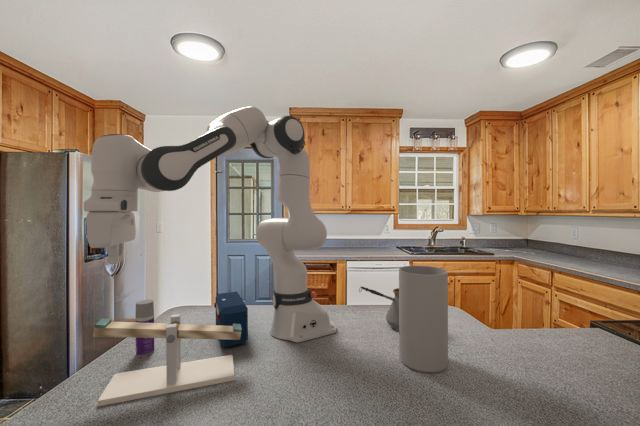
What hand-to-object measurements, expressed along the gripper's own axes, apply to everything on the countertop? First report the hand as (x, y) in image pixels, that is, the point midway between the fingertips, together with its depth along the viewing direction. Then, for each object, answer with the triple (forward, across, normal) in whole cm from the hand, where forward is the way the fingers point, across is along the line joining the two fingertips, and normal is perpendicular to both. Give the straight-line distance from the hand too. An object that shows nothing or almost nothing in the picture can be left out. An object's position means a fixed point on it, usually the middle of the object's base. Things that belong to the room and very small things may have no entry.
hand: (115, 263), depth 68 cm
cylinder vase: (+29, +14, +75) cm, 82 cm away
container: (+30, -18, +2) cm, 34 cm away
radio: (+29, -22, +26) cm, 45 cm away
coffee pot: (+29, -9, +79) cm, 85 cm away
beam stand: (+29, 0, +12) cm, 32 cm away
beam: (+19, 0, +12) cm, 22 cm away
